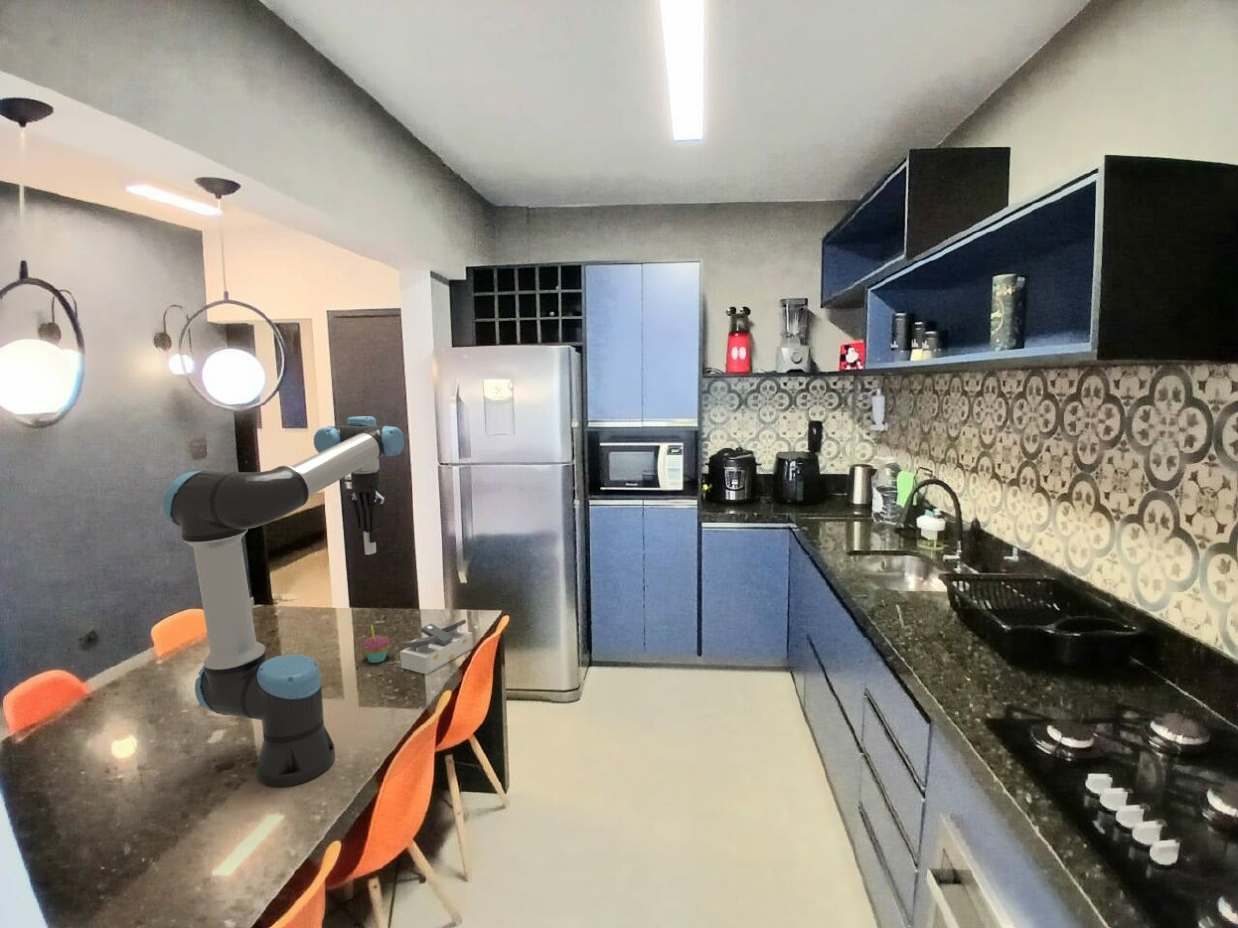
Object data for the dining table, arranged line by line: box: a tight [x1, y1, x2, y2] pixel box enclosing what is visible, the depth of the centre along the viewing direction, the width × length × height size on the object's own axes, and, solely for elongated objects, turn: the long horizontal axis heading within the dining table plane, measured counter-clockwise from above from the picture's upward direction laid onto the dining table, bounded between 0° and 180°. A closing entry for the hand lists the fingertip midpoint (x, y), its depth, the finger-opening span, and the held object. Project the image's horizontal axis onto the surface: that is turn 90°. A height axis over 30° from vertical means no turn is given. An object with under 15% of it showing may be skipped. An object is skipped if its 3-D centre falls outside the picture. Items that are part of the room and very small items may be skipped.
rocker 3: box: [440, 618, 467, 632], centre depth 195 cm, size 4×9×1 cm, turn 63°
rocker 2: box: [420, 623, 453, 645], centre depth 190 cm, size 4×9×1 cm, turn 63°
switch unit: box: [399, 627, 474, 675], centre depth 190 cm, size 20×10×6 cm, turn 153°
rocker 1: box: [405, 636, 438, 648], centre depth 184 cm, size 4×9×1 cm, turn 63°
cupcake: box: [360, 623, 392, 664], centre depth 189 cm, size 9×8×12 cm
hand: (370, 553), depth 180 cm, fingers closed
